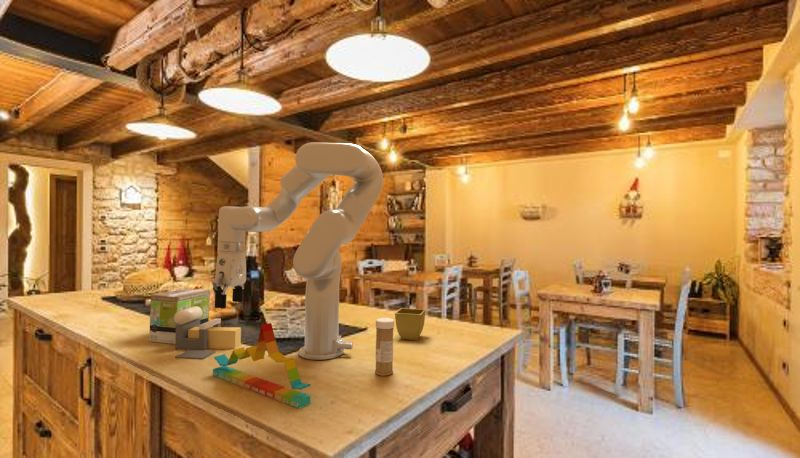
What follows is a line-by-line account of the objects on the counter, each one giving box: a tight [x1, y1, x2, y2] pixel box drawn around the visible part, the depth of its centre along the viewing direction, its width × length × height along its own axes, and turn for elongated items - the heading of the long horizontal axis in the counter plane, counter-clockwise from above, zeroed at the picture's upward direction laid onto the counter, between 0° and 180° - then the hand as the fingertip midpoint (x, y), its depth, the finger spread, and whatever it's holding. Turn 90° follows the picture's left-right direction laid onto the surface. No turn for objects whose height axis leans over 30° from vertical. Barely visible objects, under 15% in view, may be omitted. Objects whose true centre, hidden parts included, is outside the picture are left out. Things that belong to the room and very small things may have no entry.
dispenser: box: [174, 306, 222, 351], centre depth 120 cm, size 9×10×11 cm
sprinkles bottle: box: [374, 317, 395, 377], centre depth 99 cm, size 5×5×14 cm
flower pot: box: [394, 307, 426, 341], centre depth 132 cm, size 9×9×9 cm
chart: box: [212, 322, 311, 409], centre depth 89 cm, size 30×3×15 cm, turn 56°
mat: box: [175, 350, 216, 360], centre depth 111 cm, size 8×6×1 cm
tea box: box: [148, 288, 211, 345], centre depth 129 cm, size 15×10×15 cm
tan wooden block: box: [188, 326, 242, 350], centre depth 119 cm, size 14×4×6 cm, turn 89°
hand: (229, 304), depth 119 cm, fingers open, 9 cm apart
